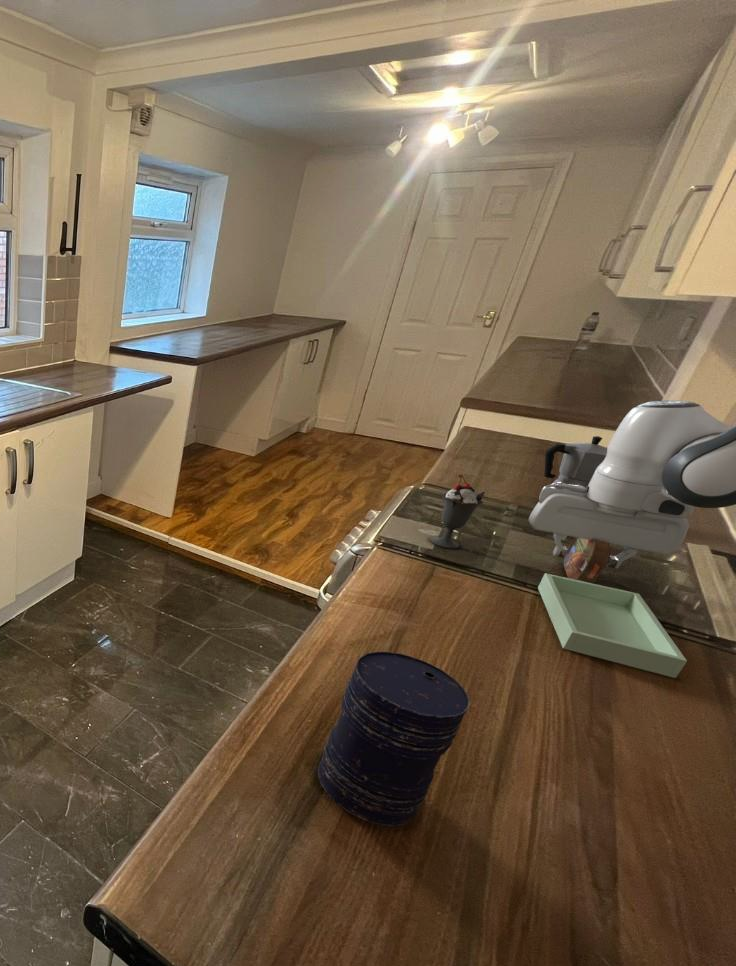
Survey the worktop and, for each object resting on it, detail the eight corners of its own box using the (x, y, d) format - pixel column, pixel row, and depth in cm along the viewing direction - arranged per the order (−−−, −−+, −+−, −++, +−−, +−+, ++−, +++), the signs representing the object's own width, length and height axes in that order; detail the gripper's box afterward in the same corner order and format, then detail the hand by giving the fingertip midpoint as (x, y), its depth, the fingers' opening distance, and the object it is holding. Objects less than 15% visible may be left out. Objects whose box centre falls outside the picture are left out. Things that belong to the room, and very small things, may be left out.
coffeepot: (580, 504, 143) (616, 433, 135) (607, 519, 135) (647, 444, 127) (511, 498, 145) (542, 428, 137) (533, 512, 137) (568, 439, 129)
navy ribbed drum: (374, 840, 58) (426, 729, 51) (297, 767, 66) (332, 663, 59) (438, 808, 62) (494, 700, 55) (357, 743, 70) (397, 642, 63)
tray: (630, 608, 99) (639, 593, 98) (675, 678, 83) (687, 661, 81) (537, 587, 105) (545, 572, 104) (562, 648, 88) (572, 632, 87)
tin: (561, 558, 116) (581, 520, 112) (581, 563, 114) (602, 524, 110) (570, 589, 105) (592, 548, 101) (593, 594, 103) (616, 553, 99)
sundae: (418, 539, 122) (444, 472, 115) (439, 534, 124) (465, 468, 118) (449, 552, 117) (478, 483, 110) (470, 547, 119) (500, 479, 112)
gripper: (549, 485, 104) (517, 552, 110) (707, 511, 95) (663, 583, 101) (543, 475, 109) (512, 540, 115) (692, 499, 100) (651, 568, 106)
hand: (584, 561), depth 108 cm, fingers open, 6 cm apart
